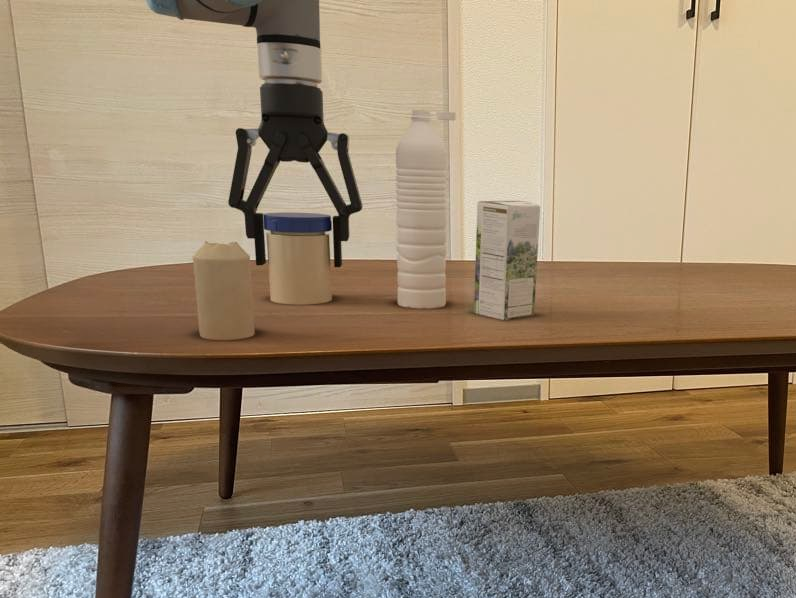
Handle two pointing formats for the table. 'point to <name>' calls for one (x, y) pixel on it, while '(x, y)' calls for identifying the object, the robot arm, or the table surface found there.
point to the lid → (297, 222)
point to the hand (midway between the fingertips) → (299, 264)
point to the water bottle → (421, 213)
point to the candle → (223, 291)
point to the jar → (299, 267)
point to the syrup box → (506, 259)
